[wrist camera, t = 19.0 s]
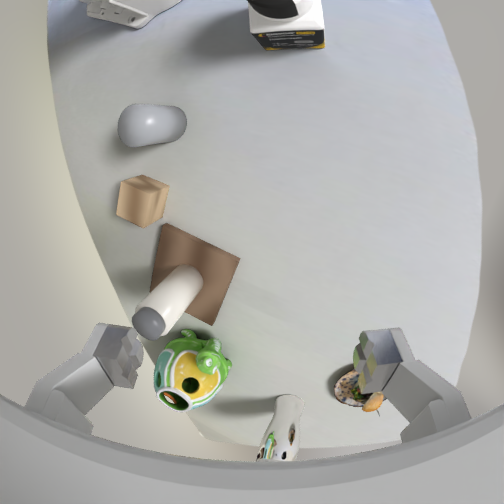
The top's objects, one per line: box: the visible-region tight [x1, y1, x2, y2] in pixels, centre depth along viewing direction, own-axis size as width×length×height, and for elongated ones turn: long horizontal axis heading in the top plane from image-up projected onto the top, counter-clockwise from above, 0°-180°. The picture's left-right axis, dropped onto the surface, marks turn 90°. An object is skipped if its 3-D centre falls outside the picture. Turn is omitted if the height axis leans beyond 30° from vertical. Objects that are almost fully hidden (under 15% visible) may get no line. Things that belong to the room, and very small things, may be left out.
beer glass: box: [256, 395, 305, 462], centre depth 43 cm, size 7×7×15 cm
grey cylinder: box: [118, 104, 187, 147], centre depth 30 cm, size 5×5×8 cm
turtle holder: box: [154, 329, 232, 412], centre depth 43 cm, size 12×18×12 cm
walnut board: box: [150, 223, 240, 326], centre depth 42 cm, size 12×13×1 cm
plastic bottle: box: [132, 264, 203, 340], centre depth 36 cm, size 5×5×12 cm
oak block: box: [116, 175, 170, 228], centre depth 36 cm, size 5×5×5 cm
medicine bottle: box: [247, 0, 325, 50], centre depth 19 cm, size 7×7×12 cm
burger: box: [334, 369, 387, 416], centre depth 40 cm, size 12×12×8 cm
